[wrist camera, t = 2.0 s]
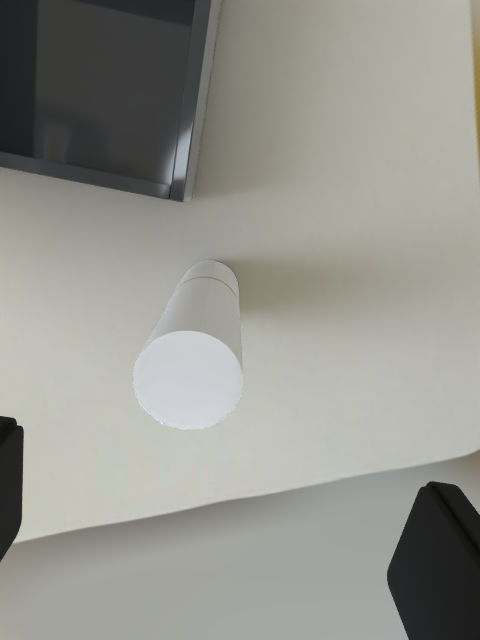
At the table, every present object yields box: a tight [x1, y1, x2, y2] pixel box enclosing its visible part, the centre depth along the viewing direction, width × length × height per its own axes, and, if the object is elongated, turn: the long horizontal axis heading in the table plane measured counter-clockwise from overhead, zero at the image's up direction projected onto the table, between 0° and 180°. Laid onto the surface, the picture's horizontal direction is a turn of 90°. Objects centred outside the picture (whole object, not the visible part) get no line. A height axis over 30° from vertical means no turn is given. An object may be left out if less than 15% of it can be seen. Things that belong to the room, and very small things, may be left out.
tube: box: [133, 260, 243, 430], centre depth 23 cm, size 4×4×15 cm
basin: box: [0, 0, 222, 202], centre depth 23 cm, size 14×12×6 cm
